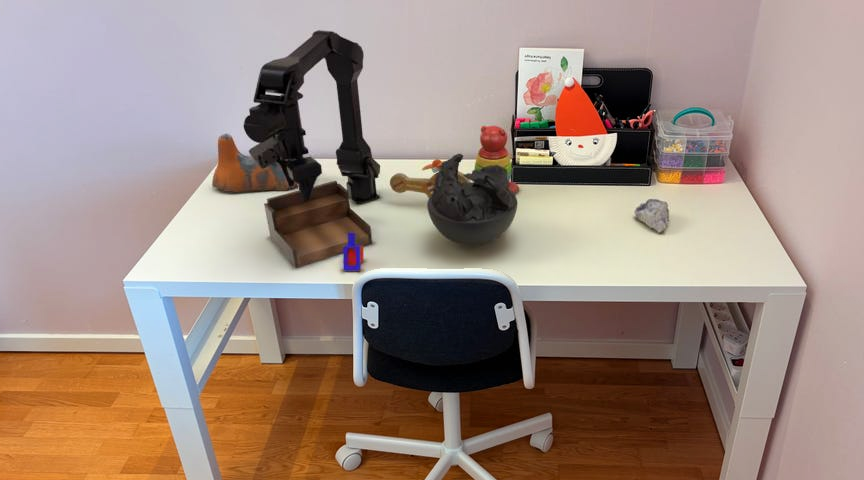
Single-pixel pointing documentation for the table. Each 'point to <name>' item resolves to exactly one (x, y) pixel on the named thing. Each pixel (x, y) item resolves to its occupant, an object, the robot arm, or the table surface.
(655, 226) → the mineral specimen
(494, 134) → the stacking bear
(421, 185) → the toy helicopter
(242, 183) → the camel toy
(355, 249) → the toy building block
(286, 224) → the shelf
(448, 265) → the table surface
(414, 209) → the table surface
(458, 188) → the coal bowl
